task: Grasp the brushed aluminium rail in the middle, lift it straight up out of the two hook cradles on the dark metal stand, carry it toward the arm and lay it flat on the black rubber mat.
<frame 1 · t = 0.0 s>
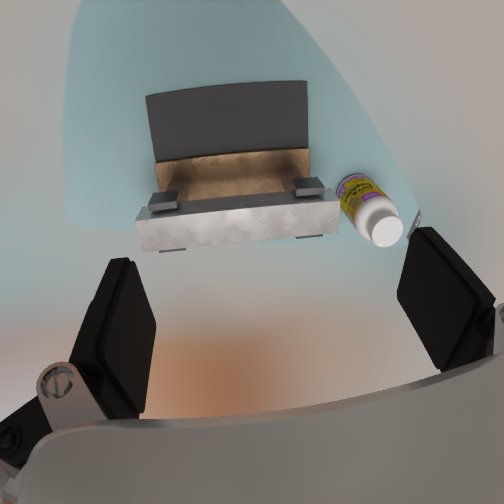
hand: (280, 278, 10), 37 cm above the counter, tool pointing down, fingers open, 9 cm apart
mat: (228, 117, 41), on the counter
supplement bottle: (353, 191, 49), on the counter
rail stand: (234, 176, 46), on the counter
rail: (237, 211, 37), point 11 cm above the counter, touching rail stand
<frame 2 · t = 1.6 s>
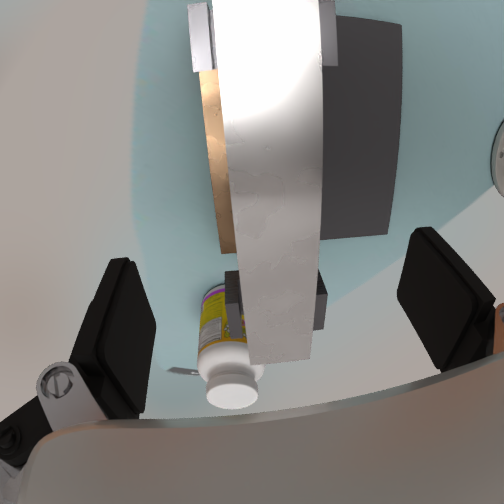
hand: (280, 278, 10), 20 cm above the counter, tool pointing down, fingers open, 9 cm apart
mat: (351, 132, 27), on the counter
supplement bottle: (229, 301, 37), on the counter
rail stand: (253, 135, 27), on the counter
rail: (268, 183, 17), point 11 cm above the counter, touching rail stand
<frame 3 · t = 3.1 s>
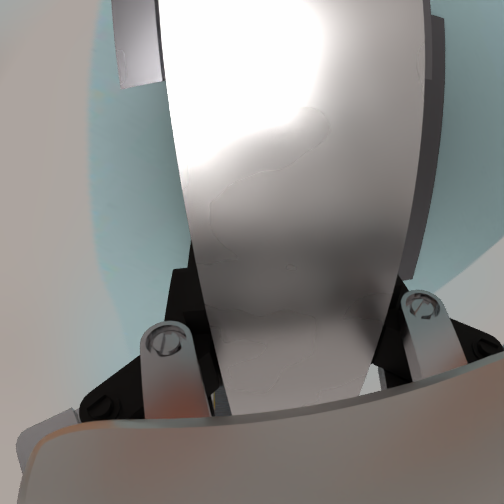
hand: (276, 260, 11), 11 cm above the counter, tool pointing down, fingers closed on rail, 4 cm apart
mat: (379, 158, 20), on the counter
rail stand: (250, 164, 20), on the counter
rail: (280, 276, 10), point 12 cm above the counter, touching gripper, rail stand
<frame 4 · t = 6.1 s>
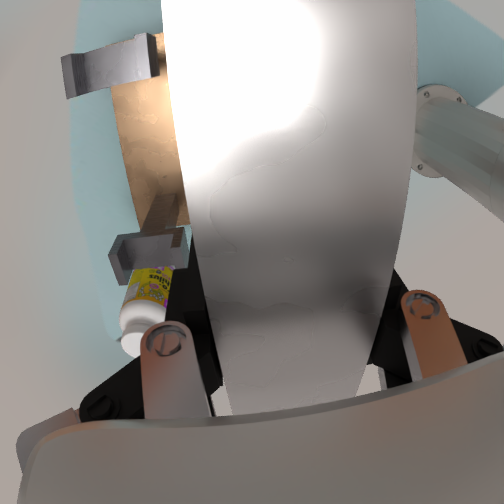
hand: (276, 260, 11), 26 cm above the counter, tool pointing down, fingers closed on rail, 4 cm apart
supplement bottle: (157, 274, 43), on the counter
rail stand: (157, 132, 32), on the counter
rail: (279, 272, 11), point 26 cm above the counter, touching gripper
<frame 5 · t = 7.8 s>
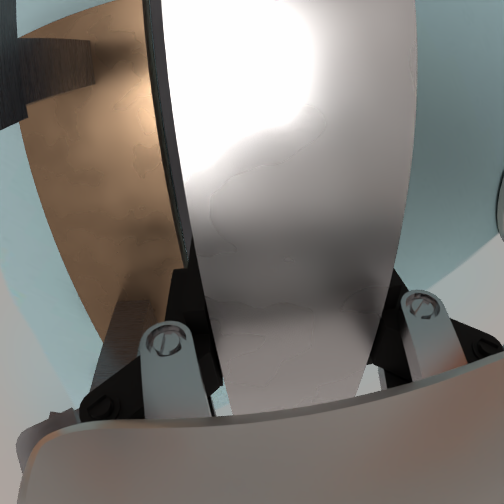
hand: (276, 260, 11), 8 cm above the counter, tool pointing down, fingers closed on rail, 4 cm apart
mat: (260, 178, 18), on the counter
rail stand: (109, 197, 17), on the counter
rail: (279, 272, 11), point 9 cm above the counter, touching gripper
when the fingers open (2 cm above the counter, at t = 9.1 s): rail drops 2 cm, resting on mat.
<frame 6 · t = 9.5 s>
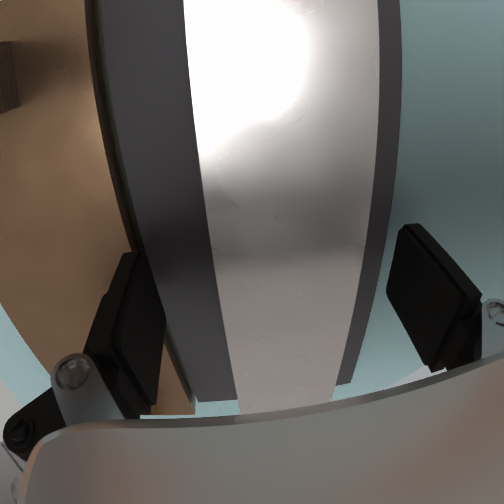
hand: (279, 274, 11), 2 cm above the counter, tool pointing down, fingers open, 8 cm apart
mat: (269, 235, 13), on the counter
rail stand: (63, 258, 12), on the counter
rail: (274, 243, 12), point 1 cm above the counter, touching mat
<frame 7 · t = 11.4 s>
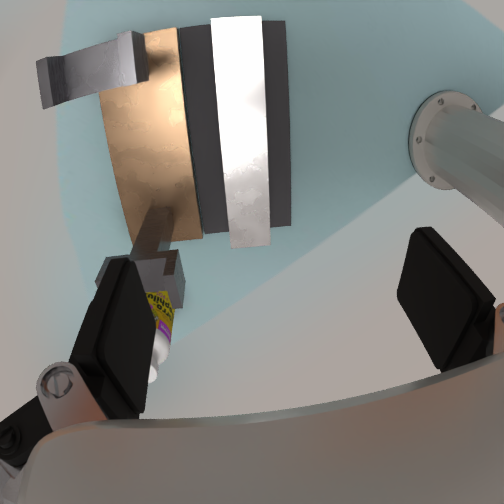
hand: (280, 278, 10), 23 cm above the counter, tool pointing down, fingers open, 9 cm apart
mat: (240, 130, 30), on the counter
supplement bottle: (152, 290, 40), on the counter
rail stand: (150, 141, 29), on the counter
rail: (241, 131, 29), point 1 cm above the counter, touching mat
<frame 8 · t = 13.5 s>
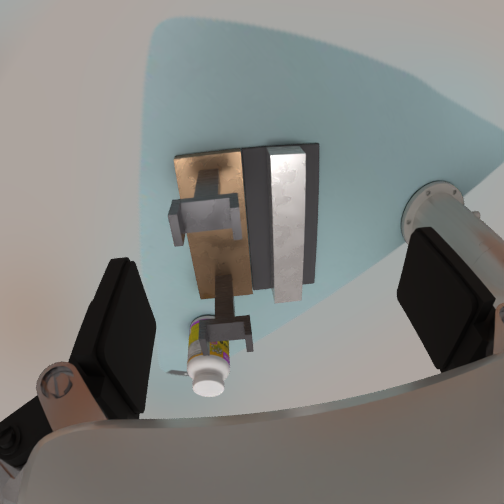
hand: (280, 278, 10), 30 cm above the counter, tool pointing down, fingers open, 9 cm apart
mat: (282, 222, 44), on the counter
supplement bottle: (208, 326, 54), on the counter
rail stand: (217, 229, 44), on the counter
rail: (284, 224, 43), point 1 cm above the counter, touching mat
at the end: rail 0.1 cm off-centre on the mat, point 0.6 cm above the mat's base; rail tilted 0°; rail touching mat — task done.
